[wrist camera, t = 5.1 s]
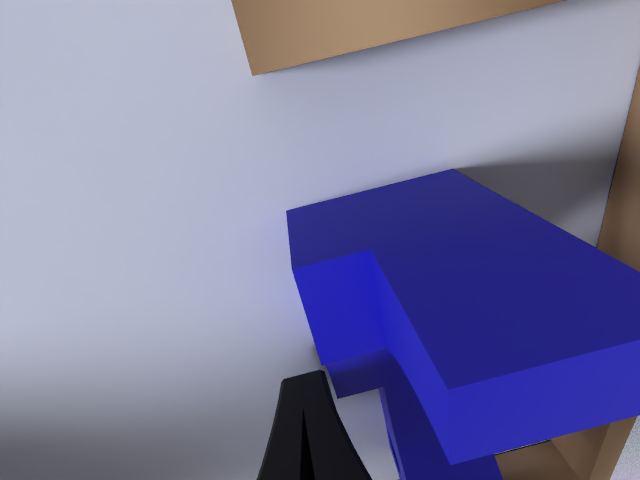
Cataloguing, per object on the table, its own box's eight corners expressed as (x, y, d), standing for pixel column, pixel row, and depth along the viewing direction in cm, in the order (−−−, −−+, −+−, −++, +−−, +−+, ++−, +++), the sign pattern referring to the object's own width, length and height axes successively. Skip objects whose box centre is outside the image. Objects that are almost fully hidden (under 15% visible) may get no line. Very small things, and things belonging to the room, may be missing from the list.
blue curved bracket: (286, 208, 9) (307, 427, 3) (449, 167, 9) (723, 318, 3) (356, 452, 14) (405, 674, 9) (454, 426, 14) (559, 632, 9)
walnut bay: (372, 498, 16) (385, 551, 14) (242, 19, 6) (231, -1, 5) (567, 447, 16) (603, 493, 14) (722, -96, 7) (886, -156, 5)
